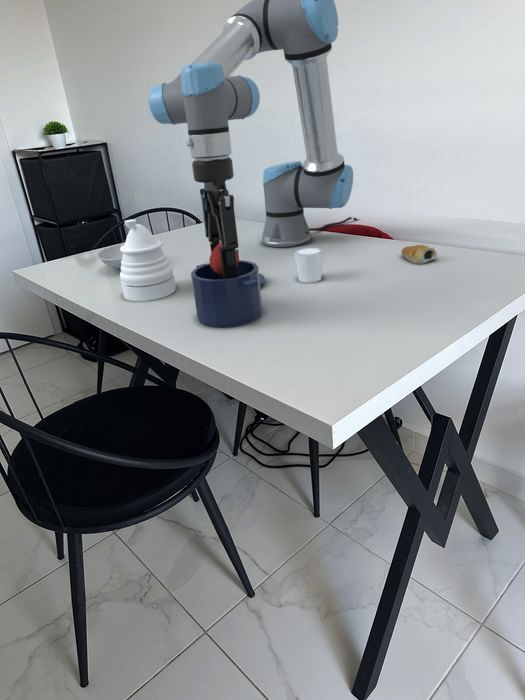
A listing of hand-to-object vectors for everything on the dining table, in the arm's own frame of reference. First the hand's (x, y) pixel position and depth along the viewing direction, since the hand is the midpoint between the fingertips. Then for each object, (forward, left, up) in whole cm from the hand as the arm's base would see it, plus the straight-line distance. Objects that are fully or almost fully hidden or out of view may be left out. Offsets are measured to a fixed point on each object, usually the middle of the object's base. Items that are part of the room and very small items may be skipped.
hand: (225, 276), depth 105 cm
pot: (0, 0, -8) cm, 8 cm away
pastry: (-55, -8, -9) cm, 56 cm away
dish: (+14, -52, -9) cm, 55 cm away
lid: (-8, -18, -8) cm, 21 cm away
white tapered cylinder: (-25, -11, -9) cm, 29 cm away
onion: (0, 0, 0) cm, 0 cm away
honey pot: (+12, -26, -9) cm, 30 cm away
